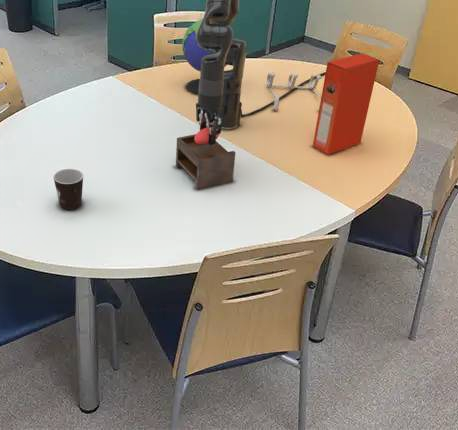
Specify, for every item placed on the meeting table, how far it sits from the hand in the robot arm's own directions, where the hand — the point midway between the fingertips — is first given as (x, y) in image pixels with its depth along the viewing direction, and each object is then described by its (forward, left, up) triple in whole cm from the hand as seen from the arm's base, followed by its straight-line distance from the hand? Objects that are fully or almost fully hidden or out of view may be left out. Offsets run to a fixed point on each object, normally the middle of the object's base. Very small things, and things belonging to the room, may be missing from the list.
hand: (207, 139), depth 188 cm
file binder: (-55, 0, -13) cm, 56 cm away
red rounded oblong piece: (0, 0, -1) cm, 1 cm away
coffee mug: (+47, +2, -13) cm, 49 cm away
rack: (0, 0, -13) cm, 13 cm away
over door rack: (-65, -41, -13) cm, 78 cm away
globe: (-35, -65, -13) cm, 75 cm away
